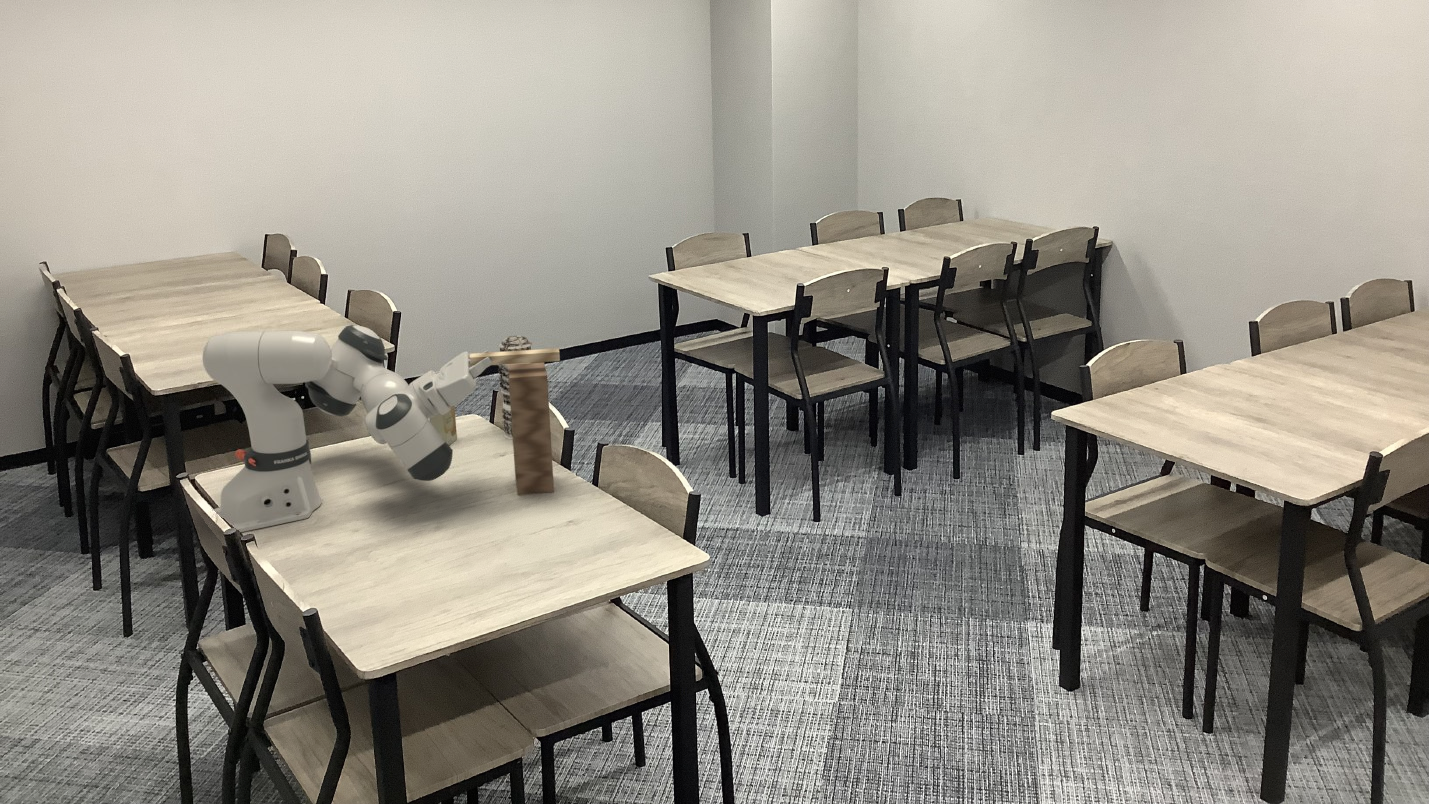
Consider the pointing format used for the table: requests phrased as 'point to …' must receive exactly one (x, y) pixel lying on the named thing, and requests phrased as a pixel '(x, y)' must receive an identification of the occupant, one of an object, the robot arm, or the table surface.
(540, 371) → the pedestal
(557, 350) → the slat
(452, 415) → the skincare box
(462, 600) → the table surface
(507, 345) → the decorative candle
